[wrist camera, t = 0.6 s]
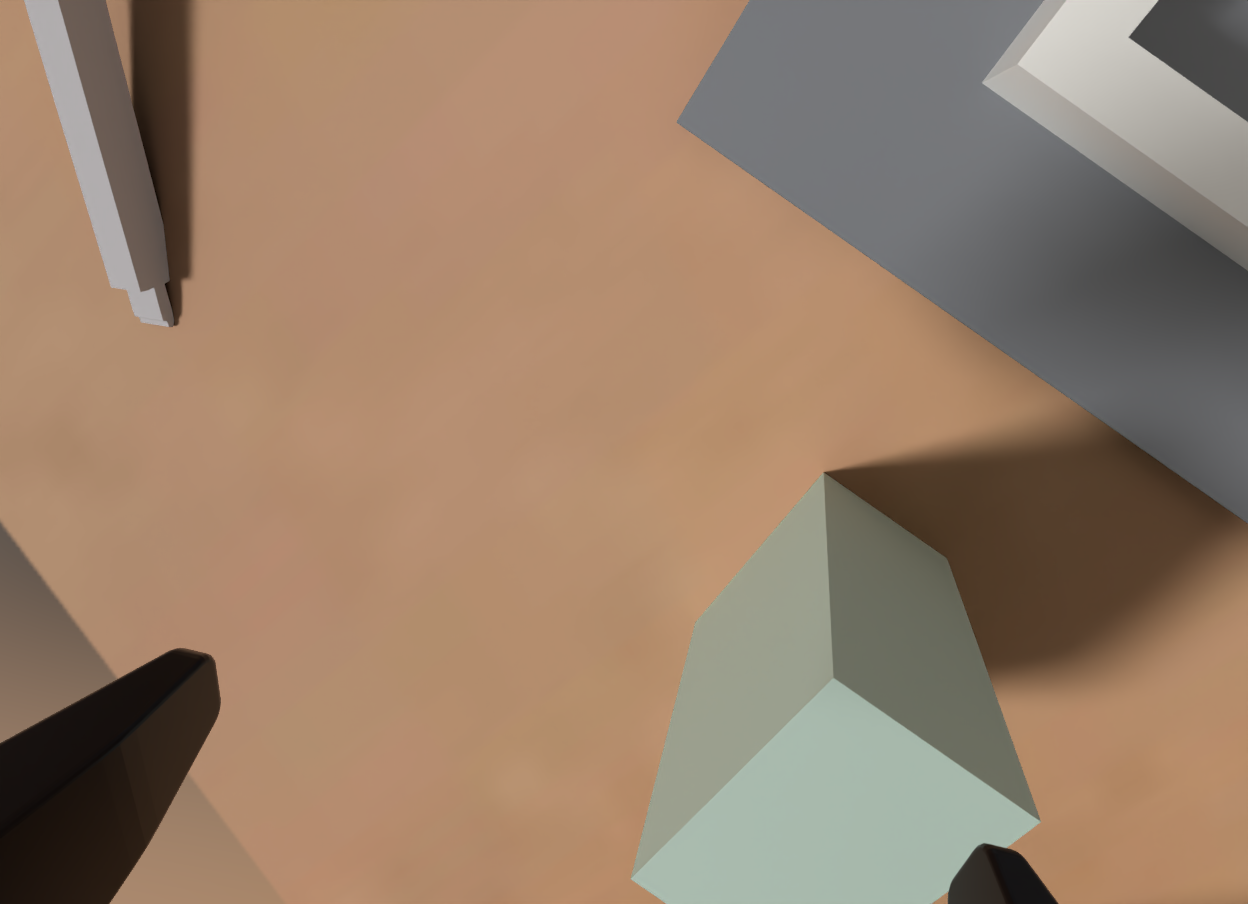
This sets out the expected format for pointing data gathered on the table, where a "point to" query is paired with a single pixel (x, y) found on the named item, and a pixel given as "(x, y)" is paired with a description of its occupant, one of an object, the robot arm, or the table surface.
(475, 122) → the table surface
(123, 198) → the caliper
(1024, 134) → the socket tray
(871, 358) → the table surface
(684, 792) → the key block
